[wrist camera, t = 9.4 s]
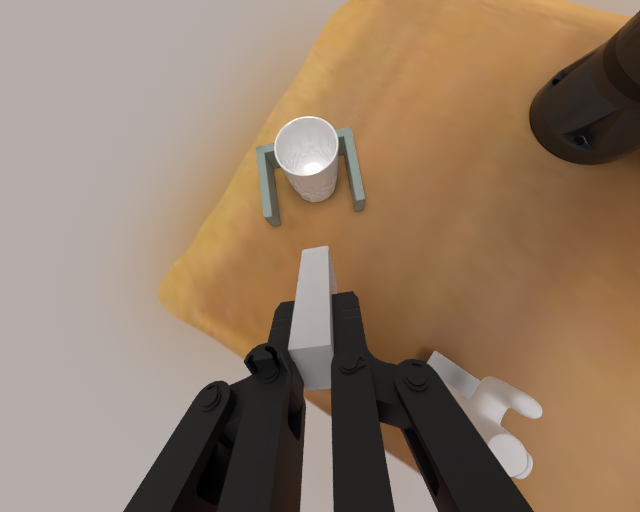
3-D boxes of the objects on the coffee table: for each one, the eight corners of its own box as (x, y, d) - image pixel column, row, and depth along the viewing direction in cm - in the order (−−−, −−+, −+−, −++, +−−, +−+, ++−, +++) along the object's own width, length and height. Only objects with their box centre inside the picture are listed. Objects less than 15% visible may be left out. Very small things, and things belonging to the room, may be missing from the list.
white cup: (287, 168, 39) (267, 126, 29) (332, 154, 39) (328, 107, 29) (298, 212, 38) (281, 183, 28) (345, 198, 37) (346, 164, 27)
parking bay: (350, 146, 39) (350, 127, 34) (362, 210, 37) (365, 198, 32) (265, 163, 40) (255, 147, 35) (273, 226, 38) (263, 217, 33)
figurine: (392, 395, 32) (433, 482, 17) (429, 337, 33) (497, 373, 18) (441, 431, 31) (528, 557, 16) (477, 369, 32) (593, 436, 17)
